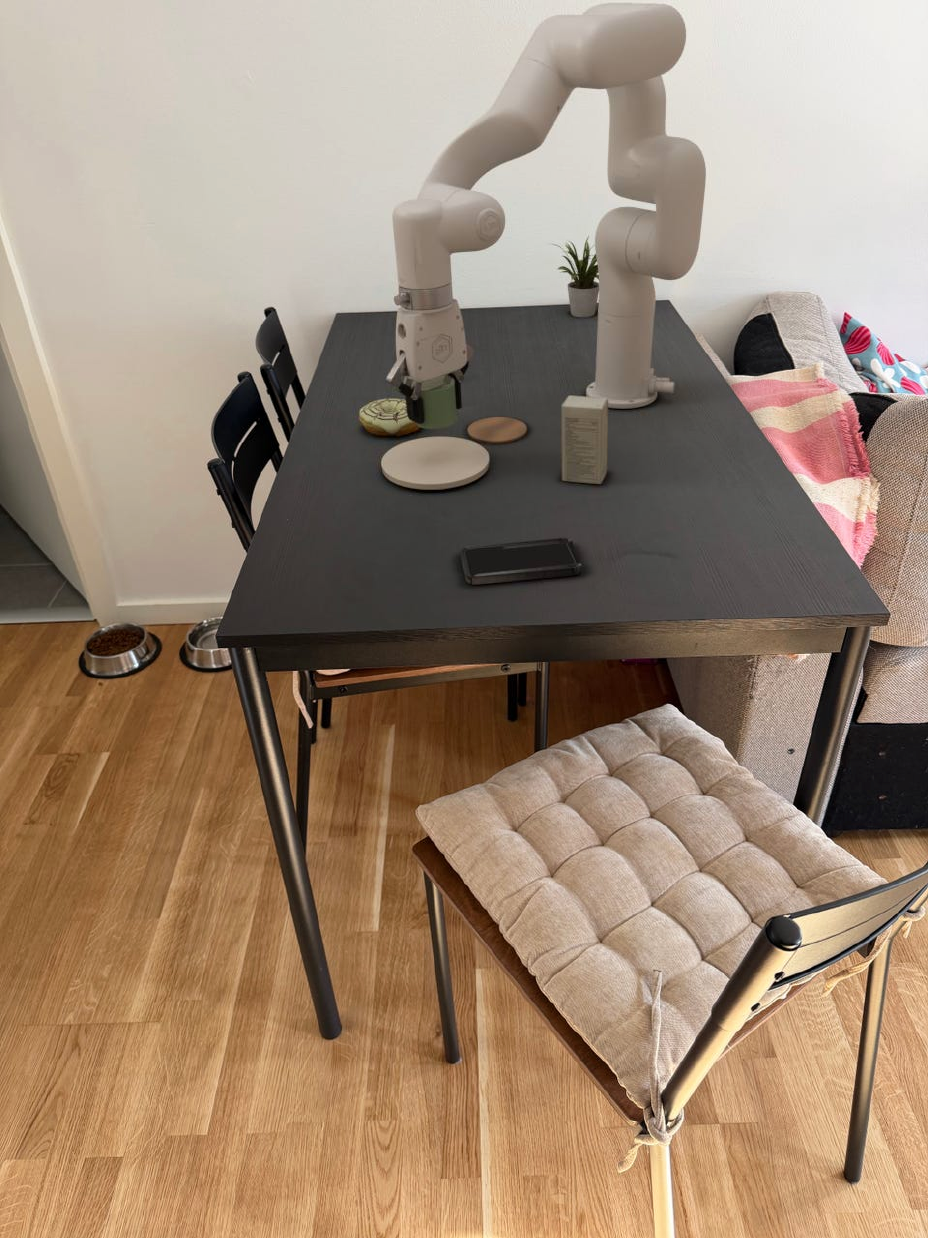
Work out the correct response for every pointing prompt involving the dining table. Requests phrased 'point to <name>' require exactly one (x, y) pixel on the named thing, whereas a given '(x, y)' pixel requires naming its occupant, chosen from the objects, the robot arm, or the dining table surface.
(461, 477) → the plate
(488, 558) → the phone
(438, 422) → the sage green cylinder
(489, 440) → the coaster
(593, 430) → the cosmetic box
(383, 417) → the decorated donut
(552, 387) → the dining table surface
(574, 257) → the house plant
